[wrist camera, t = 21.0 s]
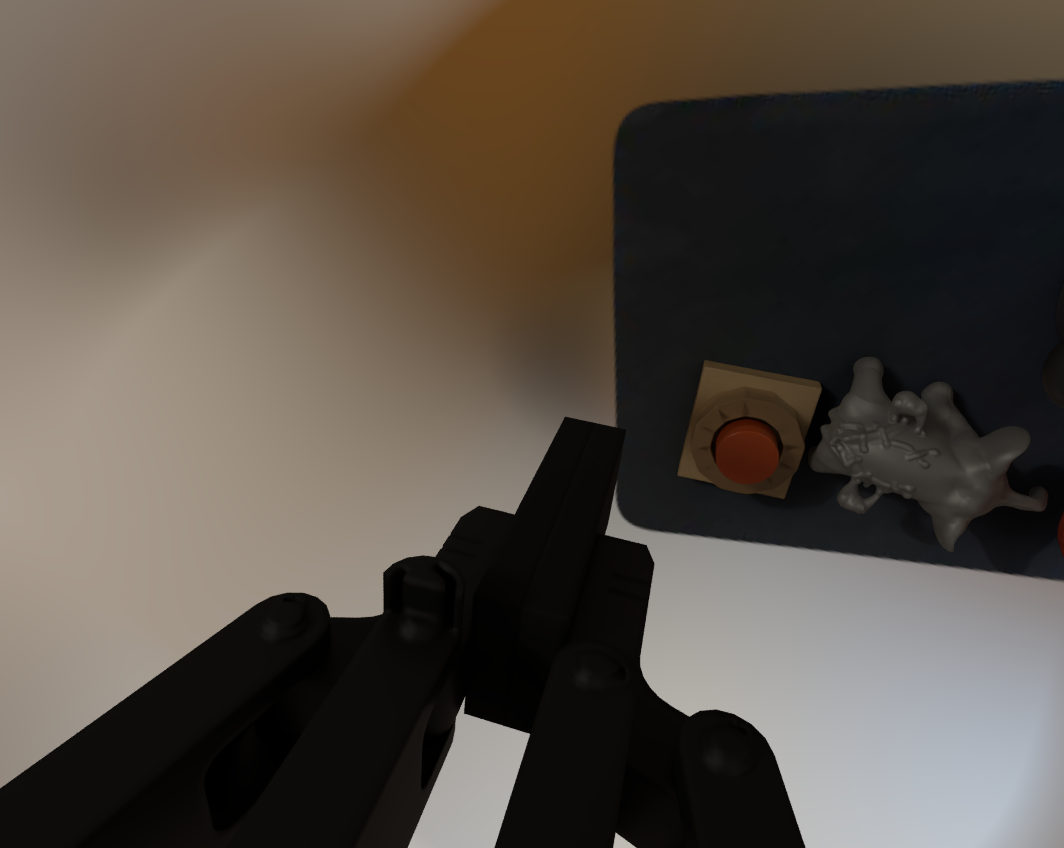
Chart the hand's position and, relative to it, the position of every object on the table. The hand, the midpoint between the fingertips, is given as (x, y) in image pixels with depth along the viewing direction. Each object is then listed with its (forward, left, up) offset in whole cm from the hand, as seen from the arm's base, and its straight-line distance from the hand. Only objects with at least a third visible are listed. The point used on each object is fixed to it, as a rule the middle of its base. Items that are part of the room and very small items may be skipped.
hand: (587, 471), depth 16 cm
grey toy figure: (+8, +16, -27) cm, 32 cm away
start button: (+10, +7, -24) cm, 27 cm away
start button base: (+10, +7, -26) cm, 29 cm away
